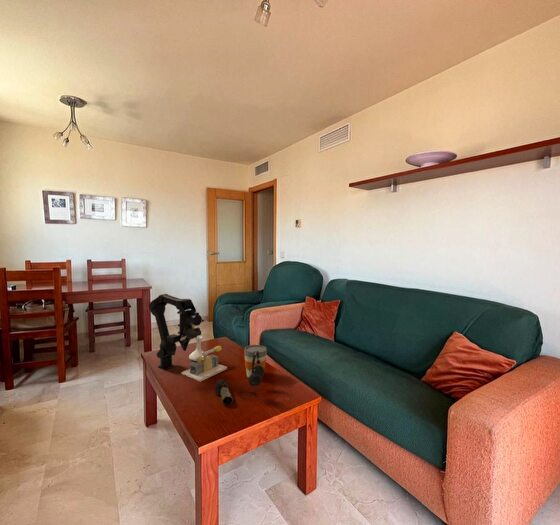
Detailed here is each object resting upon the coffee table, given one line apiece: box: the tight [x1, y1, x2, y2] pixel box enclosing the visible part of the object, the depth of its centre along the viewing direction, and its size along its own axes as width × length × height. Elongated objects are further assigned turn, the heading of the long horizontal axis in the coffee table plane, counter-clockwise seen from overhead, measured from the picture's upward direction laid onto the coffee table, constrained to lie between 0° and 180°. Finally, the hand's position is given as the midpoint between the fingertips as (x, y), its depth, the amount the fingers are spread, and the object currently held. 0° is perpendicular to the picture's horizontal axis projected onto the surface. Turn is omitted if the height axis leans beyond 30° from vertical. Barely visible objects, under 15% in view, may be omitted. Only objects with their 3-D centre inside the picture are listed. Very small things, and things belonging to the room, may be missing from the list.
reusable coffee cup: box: [243, 344, 268, 378], centre depth 162 cm, size 13×13×15 cm
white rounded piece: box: [188, 325, 209, 362], centre depth 181 cm, size 13×11×25 cm
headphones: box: [238, 351, 265, 399], centre depth 143 cm, size 15×11×20 cm
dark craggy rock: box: [214, 379, 234, 406], centre depth 139 cm, size 18×7×6 cm, turn 19°
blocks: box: [189, 354, 219, 376], centre depth 165 cm, size 6×16×7 cm, turn 147°
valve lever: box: [202, 345, 222, 358], centre depth 169 cm, size 14×3×3 cm, turn 147°
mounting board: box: [181, 363, 228, 383], centre depth 165 cm, size 15×20×1 cm
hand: (184, 350), depth 160 cm, fingers closed
